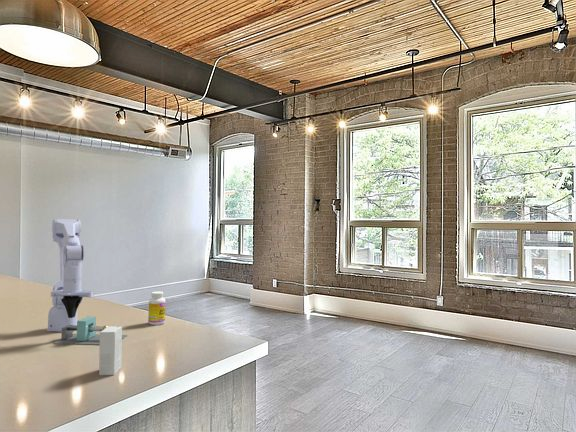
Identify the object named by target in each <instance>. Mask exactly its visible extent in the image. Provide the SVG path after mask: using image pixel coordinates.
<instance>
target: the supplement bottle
mask: <svg viewBox="0 0 576 432" xmlns="http://www.w3.org/2000/svg"><path fill="white" fill-rule="evenodd" d="M147 317H148V319H147V320H148V325H151V326H160V325H163V324H164V323H166V299H165V298H164V292H163V291H160V290H159V291H152V292H151V297H150V299H149V300H148V316H147Z"/></svg>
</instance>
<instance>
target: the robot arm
mask: <svg viewBox="0 0 576 432" xmlns="http://www.w3.org/2000/svg"><path fill="white" fill-rule="evenodd" d="M51 226H52V227H51V229H52V230H51V231H52V241H53V242H55V243H57V244H58V247H59V259H60V260H59V267H60V268H59V270H60V271H59V272H60V281H59V282H58V283H56V284H54V286H53V287H52V290H51V291H50V298H52V299H51V302H52V306H51V307H50V309H49V311H48V314H47V329H46V332H61V333H62V328H63V327H65V326H67V325H77V321H78V308H79V305H80V304H81V303H82V302H83V298H90V299H91V298H94V293H95V292H94V291H93V290H92V291H91V290H83V289H82V283H83V282H82V278H83V273H82V272H83V261H84V258H85V248H84V245H83V244H81V242H80V235H81V231H82V230H81V229H82V222H81V220H80V219H79V218H73V219H72V218H71V219H69V218H68V219H67V218H54V219H53V220H52V225H51Z"/></svg>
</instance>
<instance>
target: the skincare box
mask: <svg viewBox="0 0 576 432" xmlns="http://www.w3.org/2000/svg"><path fill="white" fill-rule="evenodd" d="M108 326H109V327H106V328H105V329H104V330H102V331H99V334H100V345H99V354H98V355H99V359H98V360H99V366H98V367H99V368H98V373H99V376H114V375H116V373H118V372H119V370H120V369H122V364H123V363H122V351H123V349H122V348H123V347H122V346H123V345H122V344H123V341H122V340H123V339H122V335H123V326H122V325H115V326H113V325H112V326H111V325H108ZM121 326H122V327H121Z"/></svg>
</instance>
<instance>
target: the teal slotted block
mask: <svg viewBox="0 0 576 432" xmlns="http://www.w3.org/2000/svg"><path fill="white" fill-rule="evenodd" d="M96 319H97V316H93V315H92V316H86V317H83V318H81V319H77V331H76V334H77V341H86V340H88V339H90V338H91V337H93V336H95V334H97V333H96V332H97V331H88V326H97V325H96V324H97V320H96Z"/></svg>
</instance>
